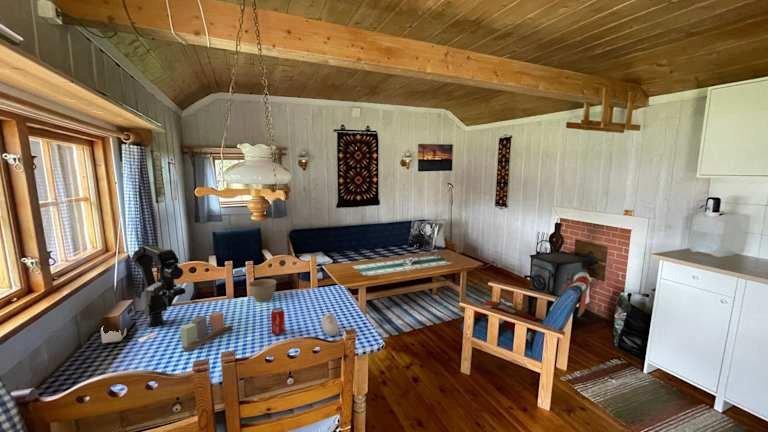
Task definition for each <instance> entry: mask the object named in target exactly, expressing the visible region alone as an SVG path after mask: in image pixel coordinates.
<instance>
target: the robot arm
mask: <svg viewBox="0 0 768 432" xmlns="http://www.w3.org/2000/svg"><path fill="white" fill-rule="evenodd" d="M179 259H180V258H178V256H177V254H176V252H175V251H174V250H173V249H170V248H169V249H167V248H166V249H162V248H160V247H158V246H155V245H154V244H151V243H150V244H143V245H141V246H140V248H138V249H136V250H135V251H134V252H133V254H132V256H131V260H132V263H133V264H134V266H135V267H136V269H137V268H138V269H139V270H140V273H141V276H142V280H143V283H144V287H145V290H146V293H147V298H146V301H145V306H144V309H143V314H144V315H145V316H147V317H148V320H149V321H148V328H152V327H157V326H162V325H164V324H165V319H164V317H163V316H164V315H163V312H166V311H167V309H168V308H170V307H171V306H172V304H173V302H174V300H175V297H178V296H182V295H185V294H186V293H187V291H186V288H184V287H181V286H177V284H176V283H175V280H179V279H181V278H182V276H183V275H184V270H183V268H182V267H179V265H178V264H180V262H179ZM154 261H155V262H156V263H157V266H158V274H159V277H158V278H157V280H156V278H155V275H154V271H153V267H152V265H153V263H154Z"/></svg>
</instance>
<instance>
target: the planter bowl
mask: <svg viewBox="0 0 768 432" xmlns="http://www.w3.org/2000/svg"><path fill="white" fill-rule="evenodd" d="M248 287H249V292H250V294H251V296H252V297H253V298H254V300H255V301H256V302H257V303H260V302H268V301H270V300H272V297H273V295H274V294H275V291H276V287H277V280H276V279H271V278H263V279H262V278H261V279H256V280H253V281H251V282H249V283H248Z"/></svg>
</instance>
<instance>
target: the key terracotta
mask: <svg viewBox="0 0 768 432" xmlns="http://www.w3.org/2000/svg"><path fill="white" fill-rule="evenodd" d="M224 318H225V317H224V313H223V312H222V311H215V312H213V313H211V314H209V329H210V330H209V331H210V333H211V334H213V333H215V332H217V331H219V330H221V329H223V328H225V324H224V323H225V321H224V320H225V319H224Z"/></svg>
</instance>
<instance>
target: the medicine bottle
mask: <svg viewBox="0 0 768 432" xmlns="http://www.w3.org/2000/svg"><path fill="white" fill-rule="evenodd" d="M100 335H101V343H102V344H108V343H113V342H114V343H115V342H121V341H122V340H123V339H124V338H123V337H125V336H126V335H127V327H126V328H125V330H124V334H123V336H122V335H121V331H120V330H119V332H116V331H114V332H113V331H109V332H108V333H106V334H105V333H104V331H103V327H101V329H100Z"/></svg>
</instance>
